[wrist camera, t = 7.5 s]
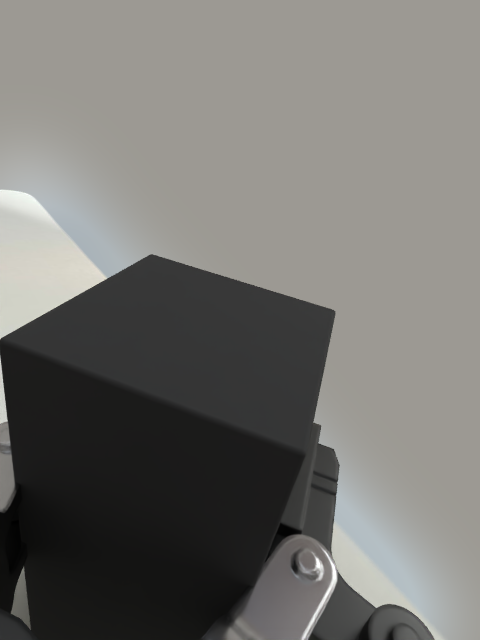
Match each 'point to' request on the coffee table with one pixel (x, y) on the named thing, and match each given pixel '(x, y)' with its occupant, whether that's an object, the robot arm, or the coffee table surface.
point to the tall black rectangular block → (157, 446)
